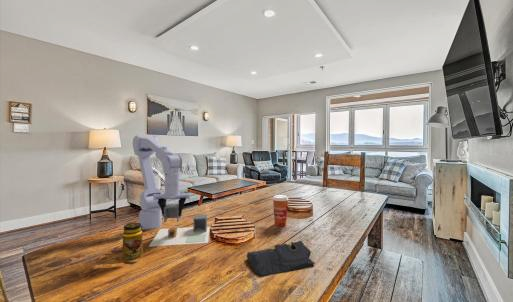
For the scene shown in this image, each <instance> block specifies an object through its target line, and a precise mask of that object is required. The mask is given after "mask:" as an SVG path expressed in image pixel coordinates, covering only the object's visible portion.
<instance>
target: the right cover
mask: <svg viewBox="0 0 513 302" xmlns="http://www.w3.org/2000/svg"><path fill="white" fill-rule="evenodd" d="M193 227H194V232H195V229H196V228H205V232H206V231H207V227H208V214H206V213H205V214H194V216H193Z"/></svg>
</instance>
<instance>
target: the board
mask: <svg viewBox="0 0 513 302" xmlns="http://www.w3.org/2000/svg"><path fill="white" fill-rule="evenodd" d="M210 227H211V226H210V225H209V226H208V225H207V231H206V232H205V228H196V229H195V232H194V226H189V227H177V235H176V237H170V238H168V230H169V228H160V229H159V230H158V232H157V234H156V235H155V236H154V238H153V239H152V241H151V242H150V244H149V245H148V248H149V247H150V248H151V247H164V246H179V245H180V246H181V245H194V244H196V245H197V244H208V243H209V239H210Z"/></svg>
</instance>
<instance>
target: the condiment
mask: <svg viewBox="0 0 513 302" xmlns="http://www.w3.org/2000/svg"><path fill="white" fill-rule="evenodd" d="M143 245H144V244H143V230H142V229H141V224H140V223H139V221H138V222H137V221H136V222H129V223H126V224H124V226H123V233H122V259H123V260H127V262H125V261H123V264H126V265H134V264H136V263H138V261H132V260H136V259H139V258H141V257H142V255H143V253H144V249H143V247H144V246H143ZM128 261H129V262H128Z"/></svg>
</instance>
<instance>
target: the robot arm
mask: <svg viewBox="0 0 513 302" xmlns="http://www.w3.org/2000/svg"><path fill="white" fill-rule="evenodd" d="M132 148H133V149H132V150H133V153H134V155H136V156H137V157H138V163H139V167H140V173H141V176H142V182H143V186H144V190H143V192H142V193H141V194H140V195H139V206H140V208H141V210H140V211H139V213H138V223H140V224H141V230H156V229H159V228H161V227H162V225H163V224H162V223H163V222H162V221H163V219H162V218H164V207H165V206H166V205H167V200H178V204H179V217H180V218H181V217H182V213H183V209H184V206H185V202H186V200H190V199H191V193H190V192H188V193H186V192H185V193H183V192H180V168H181V167H182V165H183V159H182V157H181V155H180V154H174V152H172V151H171V150H170V149H168V147H167V146H162V145H161V144H160V143H159V139H158V137H157V136H156V135H152V136H151V135H135V136H134V137H133V139H132ZM154 154H155V157H156V158H157V159H158V160H159V161H160V162H161V165H162V171H163V174H164V192H163V190H162V189H161V188H159V187H157V184H156V179H155V175H154V170H153V165H152V161H151V156H152V155H154ZM162 215H163V216H162Z"/></svg>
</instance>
